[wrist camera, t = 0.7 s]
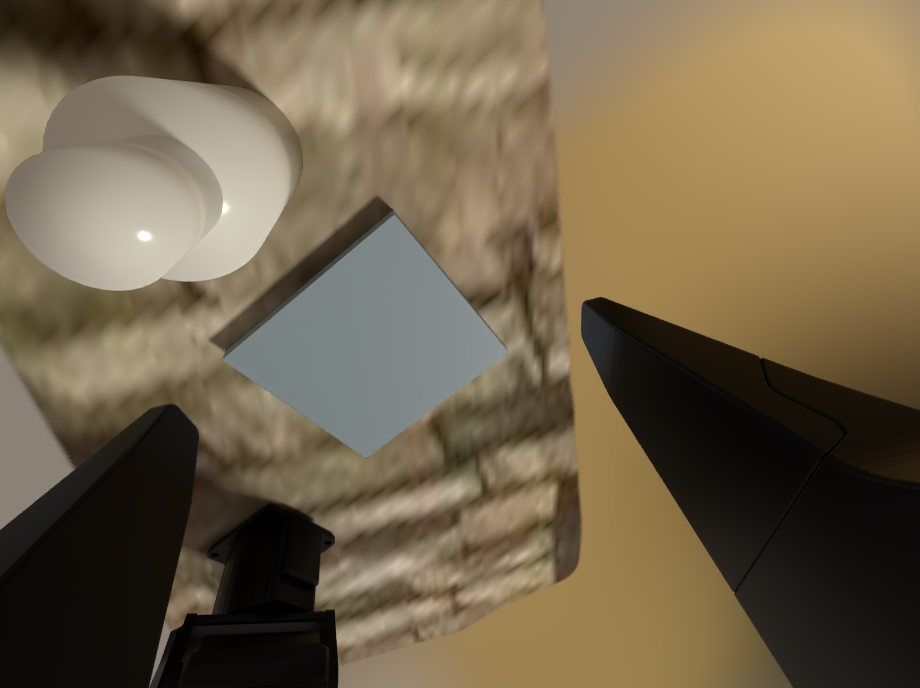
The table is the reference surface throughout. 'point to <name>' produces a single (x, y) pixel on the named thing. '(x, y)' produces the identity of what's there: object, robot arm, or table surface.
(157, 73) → the table surface
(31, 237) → the cream bottle
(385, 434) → the slate board
